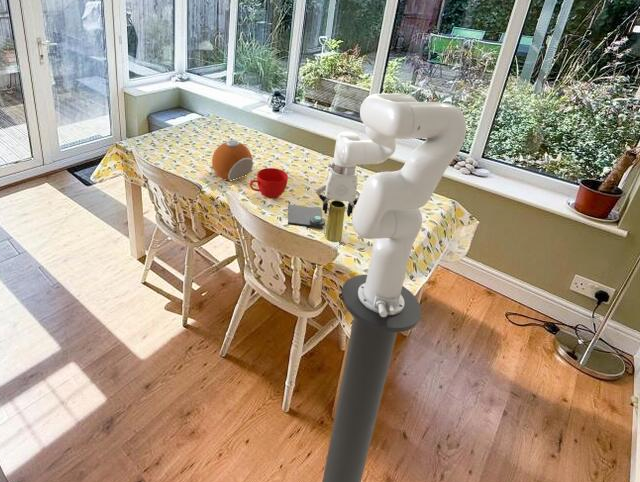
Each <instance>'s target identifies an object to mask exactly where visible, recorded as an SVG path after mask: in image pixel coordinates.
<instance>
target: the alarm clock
mask: <svg viewBox="0 0 640 482" xmlns="http://www.w3.org/2000/svg"><path fill="white" fill-rule="evenodd" d="M211 157H212V158H211V166H212V169H213V171H214V172H215V174H216V176H217V177H218V178H220V177H221V178H223V179H222V180H224V179H226V180H225V181H227V180H233V179H236V178H239V177H242V176H244V177H246V176H245V175H247V176H248V175H249V174H250V173H251V171H252V169H253V167H254V160H253V159H254V158H253V156H252V152H251V151H250V149H249V148H248V146H246V145H244V144H243V143H241V142H239V141H238V140H235V139H231V140H227V141H224V142H222V143H220V145H219V144H218V146H217V147H216V148H215V149H214V151H213V153H212V156H211ZM221 178H220V179H221ZM242 178H243V177H242ZM239 179H240V178H239ZM236 180H237V179H236ZM233 181H234V180H233Z"/></svg>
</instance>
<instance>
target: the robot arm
mask: <svg viewBox="0 0 640 482" xmlns="http://www.w3.org/2000/svg"><path fill="white" fill-rule="evenodd" d="M359 116H360V120H361V122H362V123H363V124H364V126H365V134H366V137H368V139H369V140H368V139H367V140H361V137H360V135H358V134H357V133H355V132H351V131H341V132H339V133H338V134H337V135H336V139H335V146H334V154H333V160H332V162H331V163H328V164H327V167H328V168H330V170H329V172H328V174H327V177H326V178H327V179H326V181H325V184H324V185H323V186H320V187H319V188H316V190H315V193H316V195H317V196H318V198H319V199H320V200H321V201H322V202H323V205H322V211H323V212H324V215H328V210H329V208H328V207H329V201H330V200H331V201H333V200H339V201H342V202H348V203H347V209H346V214H347V217H349V218H350V217H351V215H352V217H351V222H352V224H351V225H352V228H353V230H354V232H355V233H356V235H357V236H358V237H360V238H361V239H365V240H374V241H373V243H372V247H371V248H372V249H371V253H370V258H369V263H368V268H367V273H366V275H367V278H366V283H364V284H362V285H361V286H360V287H359V289H358V297H359V299H360V301H361V302H362V303H363V305H365V306H366V307H367V308H369V309H370V310H372V311H374V312H376V313H379V314H380V316H381V317H386V316H387V315H395V314H398V313H400V312H401V311H402V310H403V308H404V304H405V302H404V299H403V297H402V295H401V290H402V286H403V287H404V281H405V277H406V274H407V273H406V272H407V270H408V269H407V267H408V264H409V260H410V256H411V252H412V248H413V245H414V243H415V242H416V239H417V237H418V236H419V233H420V232H421V228H422V224H423V214H422V212H421V210H420V208H423V207H425V206H426V205H427V203H429V200H430V199H431V197H432V195H433V194H434V192H435V190H436V189H437V187H438V185H439V184H440V182H441V179H442V177H443V176H444V174H445V172H446V170H447V169H448V167H449V166H450V165H451V163H453V161H454V159H455V158H456V157H457V155H458V154H459V153H460V151H461V149H462V148H463V145H464V143H465V140H466V136H467V135H466V134H467V121H466V118H465V115H464V113H463V111H462V110H461V109H460V108H459V107H457V106H456V105H455V104H452V103H448V102H441V101H418V100H417V99H416V98H415V97H414V96H412V95H410V94H406V93H373V94H369V95H368V96H367V97H366V98H364V100H363V101H362V103H361V105H360V109H359ZM412 139H413V140H415V139H425V140H424V141H423V142H421V143H420V144H419V145H418V146H416V147H415V148H414V149H413V150H412V151H411V152H410V153H409V155H408V156H407V158H406V160H405V163H404V164H403V166H402V167H401V168H400V169H398V170H394V171H380V172H375V173H373V174H371V175H369V177H368V178H367V179H366V180H365V182H364V184H363V186H362V189H361V190H359V189H358V174H357V172H356V168H357V165H358V166H361V165H379V164H382V163H384V162H386V161H387V160H388V159H389V158H390V157H392V156H393V155H394V153H395V151H396V148H397V140H412ZM323 193H324V194H323Z"/></svg>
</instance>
